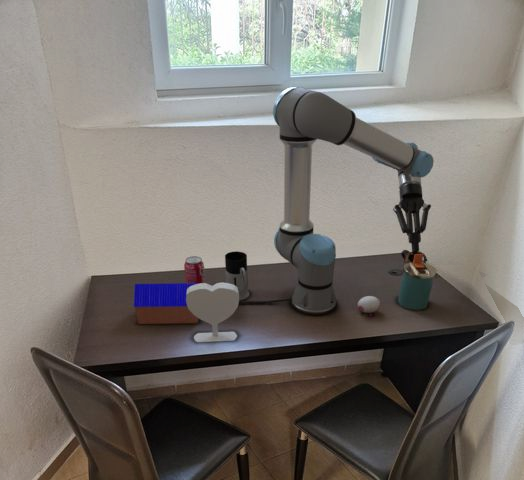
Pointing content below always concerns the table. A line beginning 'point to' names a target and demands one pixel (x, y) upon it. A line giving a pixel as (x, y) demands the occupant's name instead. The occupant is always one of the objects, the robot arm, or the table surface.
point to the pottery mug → (411, 256)
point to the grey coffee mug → (237, 272)
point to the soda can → (194, 270)
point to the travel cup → (416, 286)
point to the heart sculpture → (213, 308)
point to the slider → (418, 261)
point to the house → (163, 303)
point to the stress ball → (368, 304)
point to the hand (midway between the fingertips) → (415, 251)
